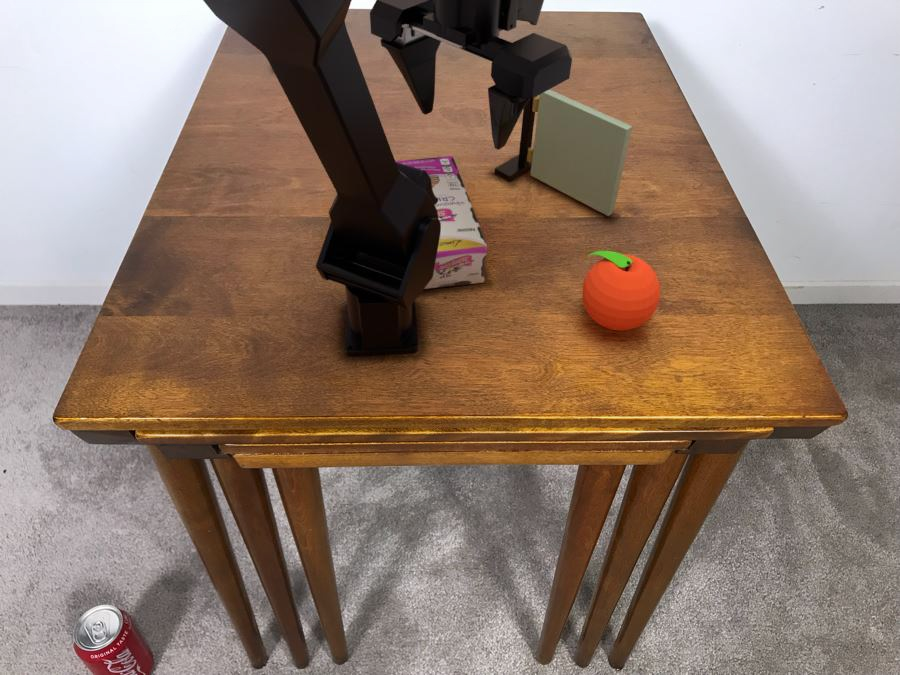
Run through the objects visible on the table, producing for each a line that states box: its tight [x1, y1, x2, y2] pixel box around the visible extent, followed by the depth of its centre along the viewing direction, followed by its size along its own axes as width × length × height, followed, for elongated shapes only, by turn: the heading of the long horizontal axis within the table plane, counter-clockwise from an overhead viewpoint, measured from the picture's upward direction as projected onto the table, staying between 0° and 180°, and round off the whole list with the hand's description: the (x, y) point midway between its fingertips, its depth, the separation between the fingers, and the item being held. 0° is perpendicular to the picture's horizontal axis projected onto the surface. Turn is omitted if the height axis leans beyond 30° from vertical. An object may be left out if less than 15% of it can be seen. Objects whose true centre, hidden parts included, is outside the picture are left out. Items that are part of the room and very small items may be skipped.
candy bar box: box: [395, 155, 488, 290], centre depth 73 cm, size 11×5×16 cm
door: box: [529, 89, 633, 217], centre depth 78 cm, size 1×11×10 cm, turn 45°
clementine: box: [581, 250, 661, 331], centre depth 65 cm, size 8×7×7 cm
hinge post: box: [494, 95, 539, 183], centre depth 81 cm, size 6×3×12 cm, turn 135°
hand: (462, 129), depth 67 cm, fingers open, 9 cm apart
